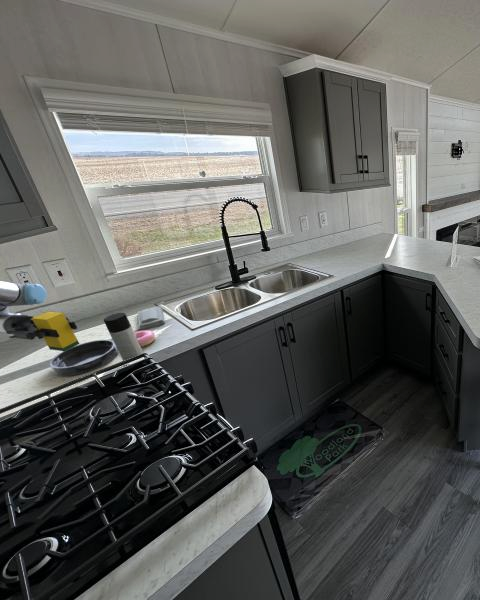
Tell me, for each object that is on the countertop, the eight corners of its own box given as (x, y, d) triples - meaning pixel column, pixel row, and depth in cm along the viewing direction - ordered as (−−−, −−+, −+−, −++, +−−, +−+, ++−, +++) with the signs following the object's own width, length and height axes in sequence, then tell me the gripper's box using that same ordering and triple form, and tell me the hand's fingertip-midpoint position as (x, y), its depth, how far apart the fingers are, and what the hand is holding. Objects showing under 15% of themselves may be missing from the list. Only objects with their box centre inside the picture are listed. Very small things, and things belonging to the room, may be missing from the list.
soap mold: (162, 308, 170) (160, 302, 169) (165, 323, 156) (162, 316, 154) (138, 314, 165) (135, 308, 164) (138, 330, 150) (135, 323, 149)
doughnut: (118, 350, 136) (114, 341, 134) (138, 336, 146) (135, 328, 144) (143, 350, 135) (140, 341, 133) (162, 336, 145) (159, 328, 143)
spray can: (149, 356, 131) (130, 312, 122) (134, 367, 125) (113, 321, 116) (135, 355, 132) (115, 311, 123) (120, 365, 126) (97, 320, 117)
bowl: (48, 383, 117) (42, 374, 116) (62, 357, 132) (57, 349, 130) (115, 365, 126) (111, 356, 125) (121, 342, 141) (117, 334, 139)
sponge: (50, 349, 118) (31, 318, 113) (65, 342, 123) (48, 311, 117) (64, 351, 117) (46, 319, 111) (79, 343, 121) (62, 312, 116)
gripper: (51, 321, 130) (96, 326, 125) (-9, 346, 114) (41, 352, 109) (41, 304, 126) (88, 308, 122) (-22, 327, 111) (29, 333, 106)
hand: (65, 329), depth 115 cm, fingers closed on sponge, 5 cm apart
